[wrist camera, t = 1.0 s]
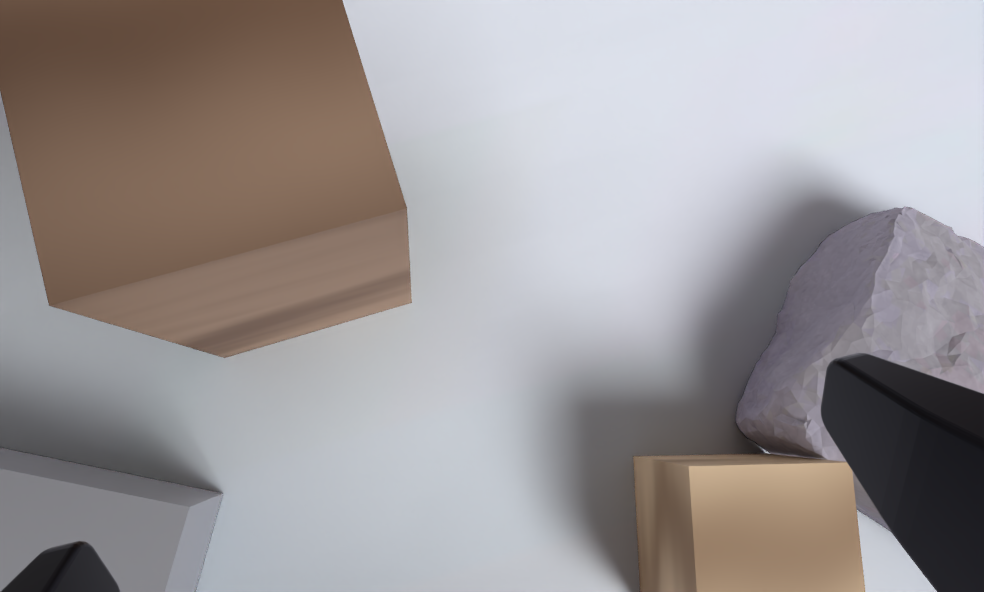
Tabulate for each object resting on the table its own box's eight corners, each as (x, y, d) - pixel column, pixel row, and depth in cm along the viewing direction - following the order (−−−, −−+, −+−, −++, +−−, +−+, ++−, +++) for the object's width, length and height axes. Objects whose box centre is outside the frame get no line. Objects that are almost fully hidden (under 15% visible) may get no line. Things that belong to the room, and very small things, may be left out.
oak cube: (775, 597, 21) (871, 645, 17) (639, 604, 21) (700, 655, 16) (763, 453, 22) (851, 462, 18) (632, 456, 21) (688, 466, 17)
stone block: (796, 219, 26) (704, 443, 22) (895, 155, 21) (803, 422, 17) (1044, 384, 26) (999, 633, 22) (1193, 355, 22) (1170, 660, 18)
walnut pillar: (411, 302, 21) (406, 208, 12) (224, 357, 21) (49, 305, 11) (360, 134, 22) (315, -86, 12) (177, 179, 21) (-25, -20, 12)
